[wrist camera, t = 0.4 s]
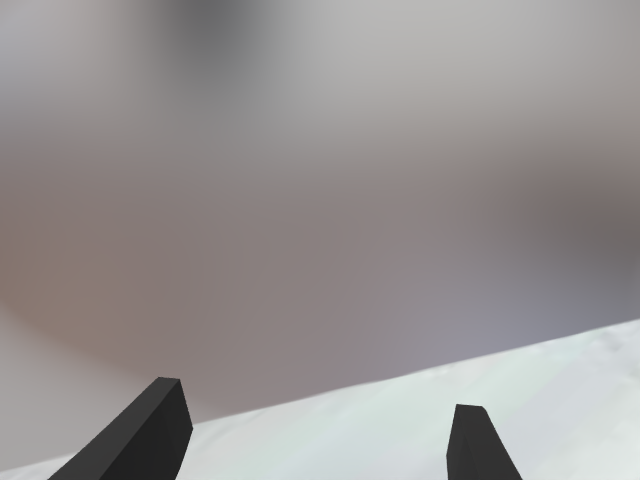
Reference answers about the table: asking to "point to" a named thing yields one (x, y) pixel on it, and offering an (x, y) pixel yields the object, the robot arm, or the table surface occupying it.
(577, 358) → the table surface
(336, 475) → the table surface
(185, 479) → the table surface
